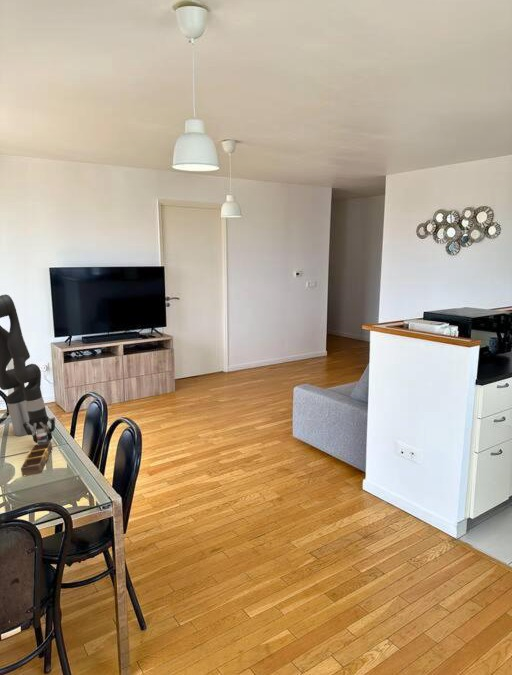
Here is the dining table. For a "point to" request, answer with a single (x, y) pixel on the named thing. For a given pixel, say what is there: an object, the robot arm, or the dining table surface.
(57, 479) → the dining table surface
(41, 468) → the rack
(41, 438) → the pill bottle
